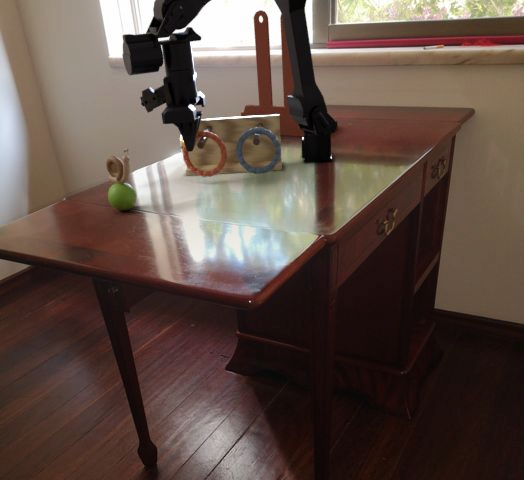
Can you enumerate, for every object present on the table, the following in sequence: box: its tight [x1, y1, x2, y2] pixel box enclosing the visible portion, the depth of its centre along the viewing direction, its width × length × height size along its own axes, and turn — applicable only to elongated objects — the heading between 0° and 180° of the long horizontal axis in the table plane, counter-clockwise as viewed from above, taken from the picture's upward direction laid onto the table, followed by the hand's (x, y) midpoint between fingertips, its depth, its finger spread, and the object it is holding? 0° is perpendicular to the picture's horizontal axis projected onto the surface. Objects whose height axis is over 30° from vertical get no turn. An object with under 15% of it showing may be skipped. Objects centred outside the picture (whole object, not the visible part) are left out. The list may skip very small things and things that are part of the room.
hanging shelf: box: [240, 10, 338, 137], centre depth 152 cm, size 24×13×30 cm, turn 58°
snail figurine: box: [105, 148, 137, 212], centre depth 107 cm, size 5×6×12 cm
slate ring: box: [236, 128, 282, 175], centre depth 117 cm, size 9×1×9 cm, turn 88°
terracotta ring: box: [181, 131, 227, 178], centre depth 118 cm, size 9×1×9 cm, turn 87°
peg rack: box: [185, 114, 283, 176], centre depth 122 cm, size 22×17×11 cm
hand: (190, 150), depth 118 cm, fingers closed on terracotta ring, 1 cm apart
